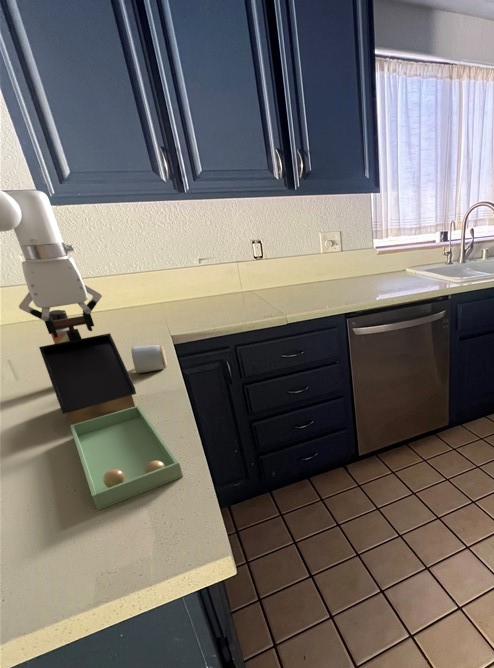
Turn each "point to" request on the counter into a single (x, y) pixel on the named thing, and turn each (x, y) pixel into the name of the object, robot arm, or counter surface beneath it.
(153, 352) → the ceramic mug
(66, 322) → the pan
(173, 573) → the counter surface
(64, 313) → the lotion bottle
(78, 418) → the stand
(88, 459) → the tray
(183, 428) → the counter surface
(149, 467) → the ball
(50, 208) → the robot arm
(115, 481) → the ball
